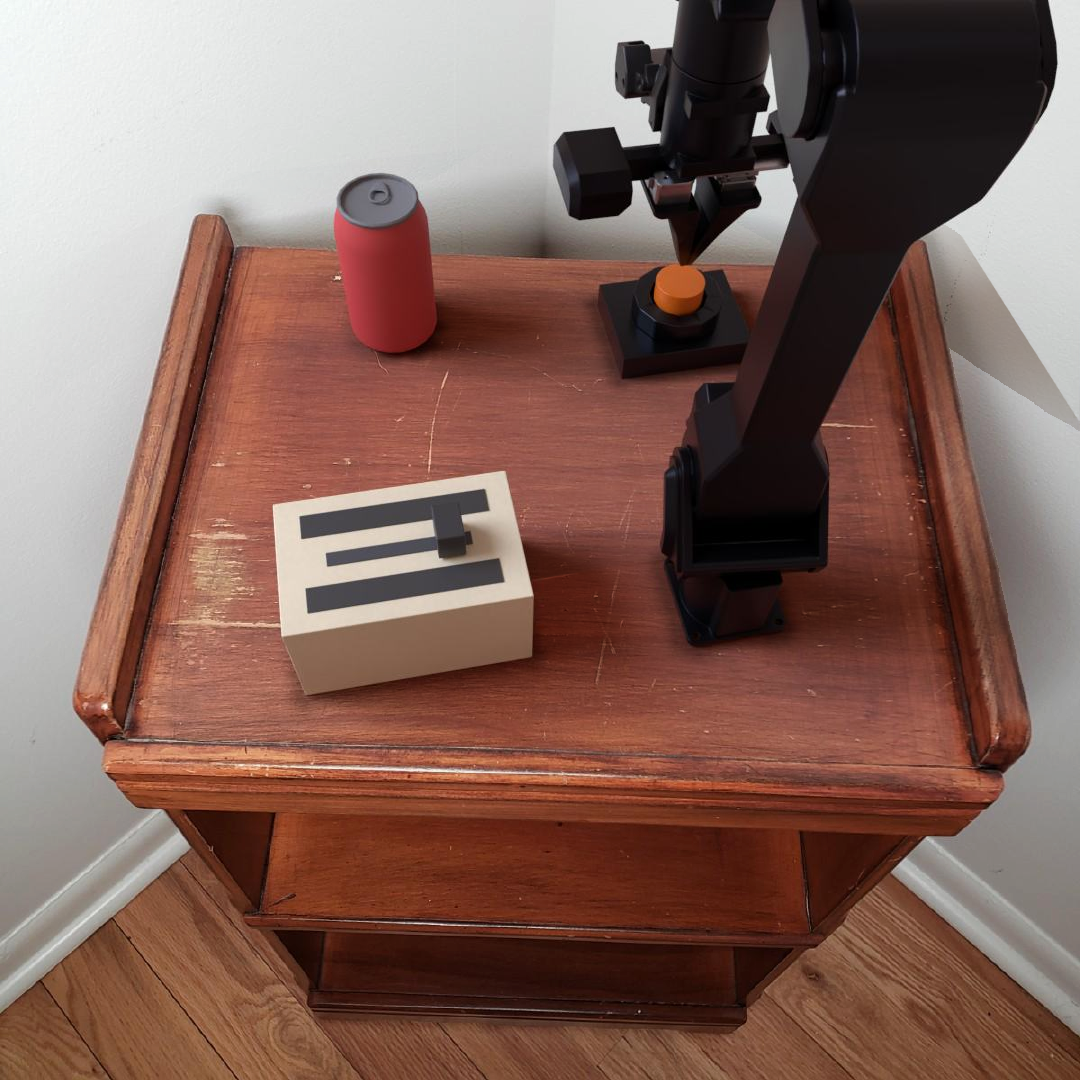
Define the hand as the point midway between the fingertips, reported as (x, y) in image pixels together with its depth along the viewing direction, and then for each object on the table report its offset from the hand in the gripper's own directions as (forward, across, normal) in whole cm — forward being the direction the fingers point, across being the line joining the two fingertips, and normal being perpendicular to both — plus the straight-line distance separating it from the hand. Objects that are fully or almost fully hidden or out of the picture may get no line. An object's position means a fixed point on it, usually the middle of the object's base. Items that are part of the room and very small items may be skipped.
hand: (683, 261), depth 73 cm
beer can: (+7, +21, -4) cm, 23 cm away
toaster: (+7, +23, +21) cm, 32 cm away
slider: (-1, +20, +21) cm, 29 cm away
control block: (+7, 0, 0) cm, 7 cm away
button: (+3, 0, 0) cm, 3 cm away
